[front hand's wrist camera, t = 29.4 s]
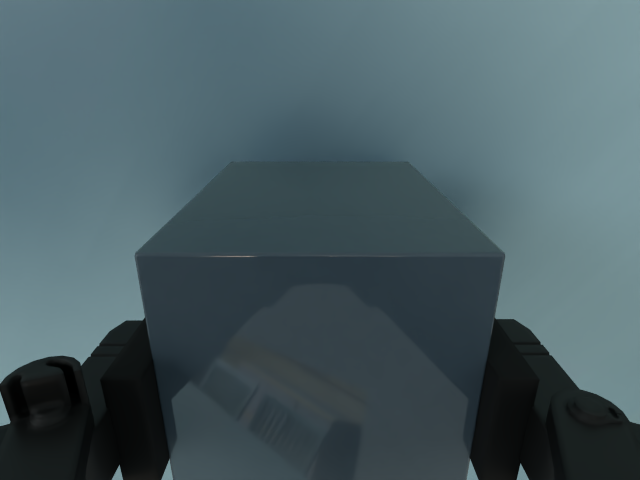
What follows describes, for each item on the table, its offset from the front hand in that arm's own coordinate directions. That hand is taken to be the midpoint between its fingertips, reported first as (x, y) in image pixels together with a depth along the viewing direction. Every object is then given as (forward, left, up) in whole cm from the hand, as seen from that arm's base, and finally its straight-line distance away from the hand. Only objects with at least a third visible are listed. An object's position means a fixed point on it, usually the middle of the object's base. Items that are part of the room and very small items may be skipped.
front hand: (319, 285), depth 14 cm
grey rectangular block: (0, 0, -3) cm, 3 cm away
